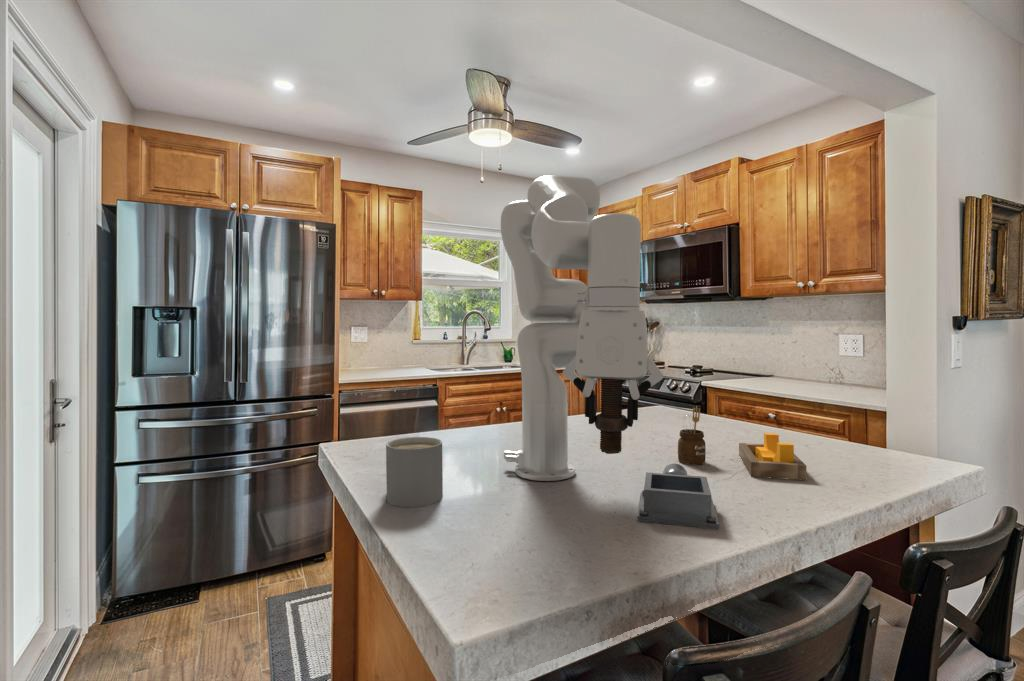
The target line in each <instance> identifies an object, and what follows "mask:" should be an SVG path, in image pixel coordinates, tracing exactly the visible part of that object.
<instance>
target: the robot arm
mask: <svg viewBox="0 0 1024 681" xmlns="http://www.w3.org/2000/svg"><path fill="white" fill-rule="evenodd" d="M600 203H601V194H600V189H599V187H598V185H597V184H596V182H594V181H593V180H592V179H590V178H588V177H580V176H570V175H569V176H567V175H553V174H551V175H550V174H549V175H543V176H542V175H541V176H539V177H538V178H536V179H534V180H533V181H532V183H531V184H530V185H529V188H528V189H527V199H525V200H523V199H521V200H515V201H511V202H509V203H508V204H506V205H505V206H504V207H503V209H502V212H501V216H500V233H501V234H500V235H501V240H502V244H503V247H504V249H505V251H506V253H507V256H508V258H509V260H510V262H511V265H512V269H513V273H514V274H513V275H514V282H515V289H516V294H517V296H516V297H517V302H518V308H519V311H520V314H521V317H523V319H524V320H527V321H529V322H535V323H531V324H528V325H526V326H524V327H523V328H521V330H520V331H519V332H518V336H517V344H516V345H517V346H516V347H517V352H518V353H517V354H518V360H519V364H520V373H521V406H522V410H521V411H522V412H521V414H522V415H521V417H522V418H521V423H522V424H521V425H522V427H521V428H522V430H521V431H522V438H521V440H522V441H521V442H522V443H521V444H522V446H521V447H522V448H521V449H520V450H518V451H514V450H504V452H503V459H504V461H505V462H509V463H516V464H517V465H515V469H514V470H515V472H514V473H515V474H516V475H517V476H518V477H519V478H522V479H525V480H526V479H527V480H530V481H535V482H537V481H539V482H555V481H561V480H562V481H563V480H566V479H570V478H572V477H574V476H575V474H576V467H575V466H574V465H573V464H571V463H569V462H568V461H569V460H568V458H569V457H568V455H569V453H568V452H569V451H568V450H569V447H568V445H569V443H568V441H569V440H568V436H569V435H568V434H569V433H568V432H569V431H568V430H569V428H568V426H569V424H568V423H569V422H568V421H569V420H568V415H569V414H568V412H569V411H568V410H569V409H568V388H567V386H566V383H565V382H564V380H563V379H562V378H561V376H560V375H559V374H558V373H557V372H558V371H557V370H556V369H563V370H562V375H563V376H564V377H565V378H567V379H568V380H569V381H570V382H572V383H573V385H574V386H575V387H576V388H577V389H578V390H579V391H580V393H582V395H583V397H584V417H585V418H588V424H589V425H593V424H595V416H596V415H597V395H596V393H595V387H596V384H597V381H598V380H597V379H599V380H601V379H622V381H624V380H626V382H627V385H628V389H629V390H628V391H629V392H630V393H629V394H628V395H629V396H628V398H627V401H626V402H627V406H626V410H627V411H626V413H627V414H626V417H627V426H628V428H630V427H631V428H632V427H633V426H634V425H633V424H634V421H638V420H639V399H640V398H641V396H643V395H644V394H645V393H646V392H648V390H649V389H650V388H652V387H653V386H655V385H656V384H658V383H660V381H662V380H663V378H664V373H663V372H662V370H660V368H659V367H658V366H657V364H656V363H655V362H654V361H653V359H652V358H651V357H650V355H649V352H648V351H649V346H648V345H649V343H648V329H647V328H648V326H647V325H648V324H647V319H646V318H647V317H646V313H645V310H640V300H641V299H640V297H641V294H640V293H641V292H640V290H641V289H640V288H641V287H640V286H641V250H642V249H641V246H642V245H641V242H642V236H641V234H642V227H641V221H640V219H639V218H638V217H637V216H636V215H633V214H629V213H619V212H617V213H613V212H612V213H603V214H599V215H597V213H598V211H599V208H600ZM596 215H597V216H596ZM553 269H554V270H581V271H582V270H587V284H586V283H584V282H583V281H581V280H579V279H574V278H573V279H571V278H570V279H569V278H557V277H555V276H554V274H553ZM617 360H618V361H617ZM648 371H649V373H650V376H649V377H648V378H646V379H645V380H643V381H642V382H641V383H640V384H639V381H638V380H640V379H643V378H644V377H645V376H646V375H647V373H648ZM584 378H586V380H584Z"/></svg>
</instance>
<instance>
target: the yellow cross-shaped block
mask: <svg viewBox="0 0 1024 681" xmlns="http://www.w3.org/2000/svg"><path fill="white" fill-rule="evenodd" d="M763 444H764V447H756V459H757V460H758V461H770V462H786V463H794V454H795V444H793V443H792V442H780V439H779V434H778V433H775V432H773V433H772V432H764V433H763Z"/></svg>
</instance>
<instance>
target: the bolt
mask: <svg viewBox="0 0 1024 681" xmlns="http://www.w3.org/2000/svg"><path fill="white" fill-rule="evenodd" d="M617 361H618V360H617ZM600 380H601V381H600V408H599V409H600V413H598V414H596V416H595V422H594V426H595V428H596V429H597V430H598V431H599V434H600V435H599V436H600V437H599V438H600V439H599V449H600V451H601V453H604V454H606V455H611V454H612V455H614V454H620V453H621V452H622V445H623V444H622V442H623V441H622V440H623V439H622V436H623V434H622V432H625V430H627V429H628V428H629V427H628V426H627V415H624V414H623V391H624V390H623V382H624V380H622V379H600Z"/></svg>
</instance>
